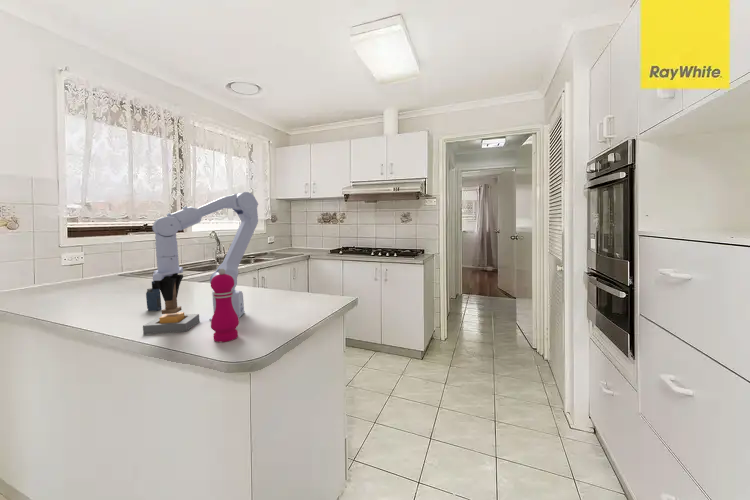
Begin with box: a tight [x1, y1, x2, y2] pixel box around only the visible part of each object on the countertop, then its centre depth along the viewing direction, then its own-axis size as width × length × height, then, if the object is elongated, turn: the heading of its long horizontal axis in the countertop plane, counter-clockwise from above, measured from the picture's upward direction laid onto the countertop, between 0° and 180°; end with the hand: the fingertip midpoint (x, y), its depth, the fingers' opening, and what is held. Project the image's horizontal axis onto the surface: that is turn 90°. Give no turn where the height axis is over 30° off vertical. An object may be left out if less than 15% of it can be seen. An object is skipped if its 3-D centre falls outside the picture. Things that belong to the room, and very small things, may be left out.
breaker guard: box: [142, 313, 201, 335], centre depth 102 cm, size 12×10×2 cm
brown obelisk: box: [160, 282, 183, 315], centre depth 101 cm, size 4×4×10 cm
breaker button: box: [159, 311, 185, 323], centre depth 102 cm, size 5×5×2 cm
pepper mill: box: [210, 269, 240, 343], centre depth 91 cm, size 7×7×20 cm
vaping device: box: [145, 280, 163, 312], centre depth 122 cm, size 3×5×12 cm, turn 79°
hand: (170, 299), depth 102 cm, fingers closed on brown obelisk, 2 cm apart
